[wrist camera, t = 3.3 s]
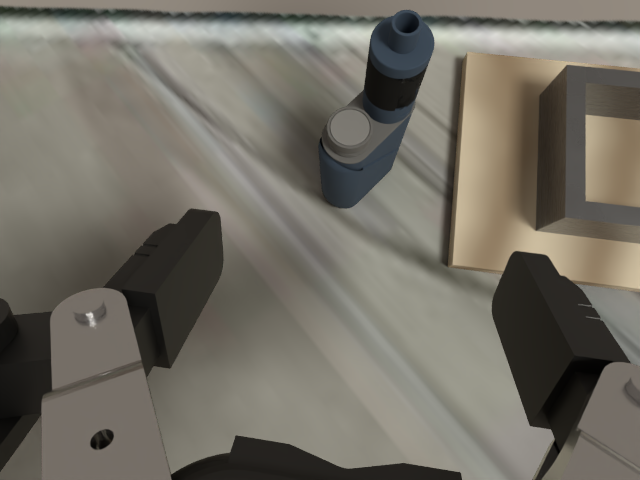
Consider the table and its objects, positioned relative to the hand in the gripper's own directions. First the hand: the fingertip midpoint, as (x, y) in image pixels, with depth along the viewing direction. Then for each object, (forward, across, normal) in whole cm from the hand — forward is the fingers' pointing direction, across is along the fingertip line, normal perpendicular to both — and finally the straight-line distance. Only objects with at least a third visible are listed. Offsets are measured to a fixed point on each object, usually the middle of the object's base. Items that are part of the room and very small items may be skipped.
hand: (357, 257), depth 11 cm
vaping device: (+14, 0, +4) cm, 15 cm away
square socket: (+16, -15, +2) cm, 22 cm away
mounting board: (+16, -15, +2) cm, 22 cm away
